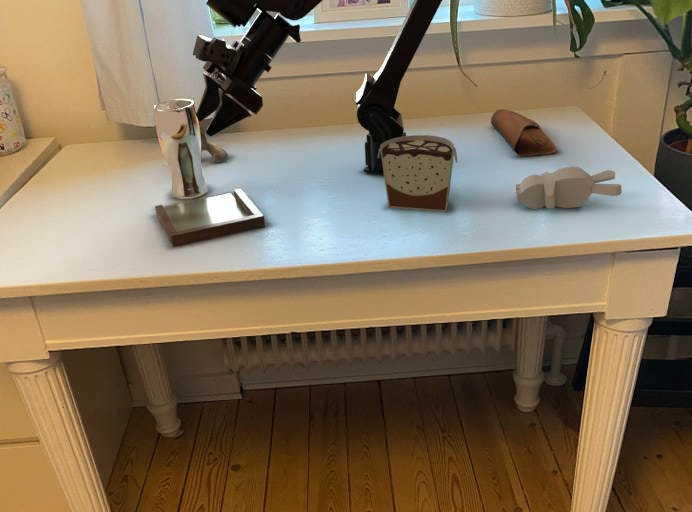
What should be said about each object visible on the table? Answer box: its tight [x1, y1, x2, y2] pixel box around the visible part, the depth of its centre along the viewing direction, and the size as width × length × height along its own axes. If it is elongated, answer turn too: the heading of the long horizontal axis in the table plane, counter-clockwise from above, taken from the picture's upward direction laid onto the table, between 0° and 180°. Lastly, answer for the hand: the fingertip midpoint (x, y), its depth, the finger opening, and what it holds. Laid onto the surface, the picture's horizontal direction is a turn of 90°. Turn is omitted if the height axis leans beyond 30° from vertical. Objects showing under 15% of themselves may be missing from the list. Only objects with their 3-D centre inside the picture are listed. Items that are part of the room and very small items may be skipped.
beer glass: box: [152, 98, 209, 200], centre depth 126 cm, size 7×7×15 cm
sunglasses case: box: [490, 108, 558, 158], centre depth 141 cm, size 18×7×7 cm
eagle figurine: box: [199, 126, 229, 163], centre depth 143 cm, size 8×7×9 cm
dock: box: [154, 188, 266, 248], centre depth 120 cm, size 16×14×2 cm
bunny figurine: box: [515, 166, 623, 210], centre depth 115 cm, size 10×5×15 cm
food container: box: [378, 134, 458, 213], centre depth 117 cm, size 12×6×10 cm, turn 71°
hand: (202, 127), depth 125 cm, fingers open, 9 cm apart
